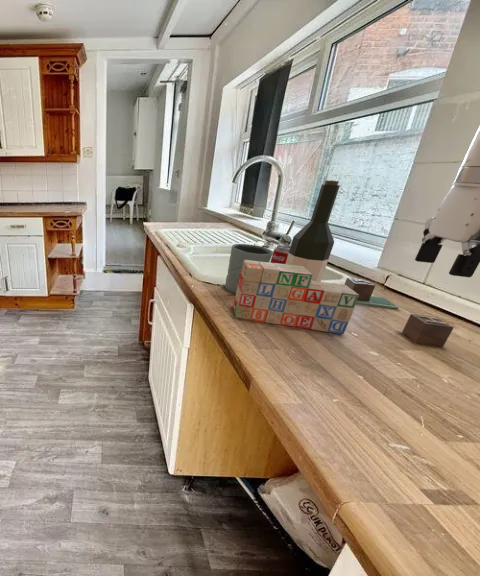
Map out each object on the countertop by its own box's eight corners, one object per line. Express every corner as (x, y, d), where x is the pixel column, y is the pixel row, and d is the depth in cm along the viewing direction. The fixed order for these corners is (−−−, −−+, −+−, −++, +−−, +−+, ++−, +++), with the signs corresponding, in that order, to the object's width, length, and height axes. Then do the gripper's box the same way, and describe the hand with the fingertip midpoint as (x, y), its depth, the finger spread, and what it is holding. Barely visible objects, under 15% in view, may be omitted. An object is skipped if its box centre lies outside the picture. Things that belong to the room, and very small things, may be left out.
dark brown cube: (360, 295, 85) (366, 279, 84) (368, 301, 81) (375, 284, 79) (341, 292, 86) (347, 276, 85) (348, 298, 82) (355, 282, 81)
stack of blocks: (332, 322, 70) (351, 271, 65) (343, 335, 64) (366, 281, 60) (232, 306, 75) (243, 258, 71) (234, 317, 70) (247, 266, 65)
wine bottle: (311, 300, 81) (352, 181, 70) (312, 311, 75) (358, 182, 63) (276, 293, 85) (309, 179, 74) (274, 302, 79) (310, 179, 67)
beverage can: (269, 282, 93) (279, 244, 89) (289, 288, 89) (302, 248, 85) (260, 286, 90) (271, 246, 85) (281, 292, 86) (293, 251, 81)
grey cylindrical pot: (229, 280, 93) (238, 242, 88) (265, 289, 87) (276, 249, 83) (217, 289, 86) (226, 247, 81) (256, 300, 80) (268, 255, 75)
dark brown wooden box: (427, 336, 66) (437, 316, 64) (443, 347, 62) (454, 326, 60) (401, 332, 67) (411, 312, 65) (415, 343, 63) (426, 322, 61)
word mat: (382, 298, 85) (383, 296, 85) (398, 309, 79) (399, 307, 79) (337, 292, 88) (338, 291, 88) (349, 302, 82) (349, 300, 81)
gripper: (565, 182, 47) (503, 285, 53) (472, 179, 62) (432, 259, 69) (503, 178, 48) (450, 279, 55) (427, 176, 64) (393, 255, 70)
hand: (440, 268), depth 62 cm, fingers open, 9 cm apart
